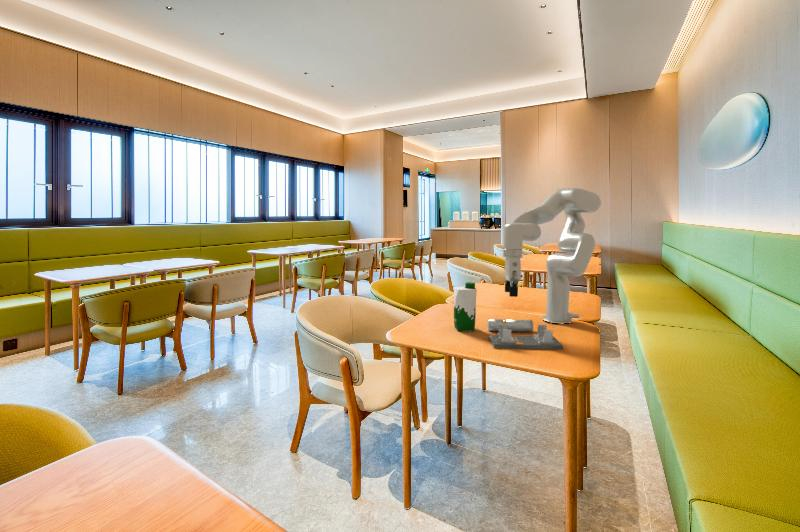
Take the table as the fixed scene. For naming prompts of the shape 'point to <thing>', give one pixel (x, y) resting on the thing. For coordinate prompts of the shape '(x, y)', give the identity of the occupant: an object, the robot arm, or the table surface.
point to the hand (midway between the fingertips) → (510, 294)
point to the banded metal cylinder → (511, 325)
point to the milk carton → (465, 307)
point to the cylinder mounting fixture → (525, 339)
